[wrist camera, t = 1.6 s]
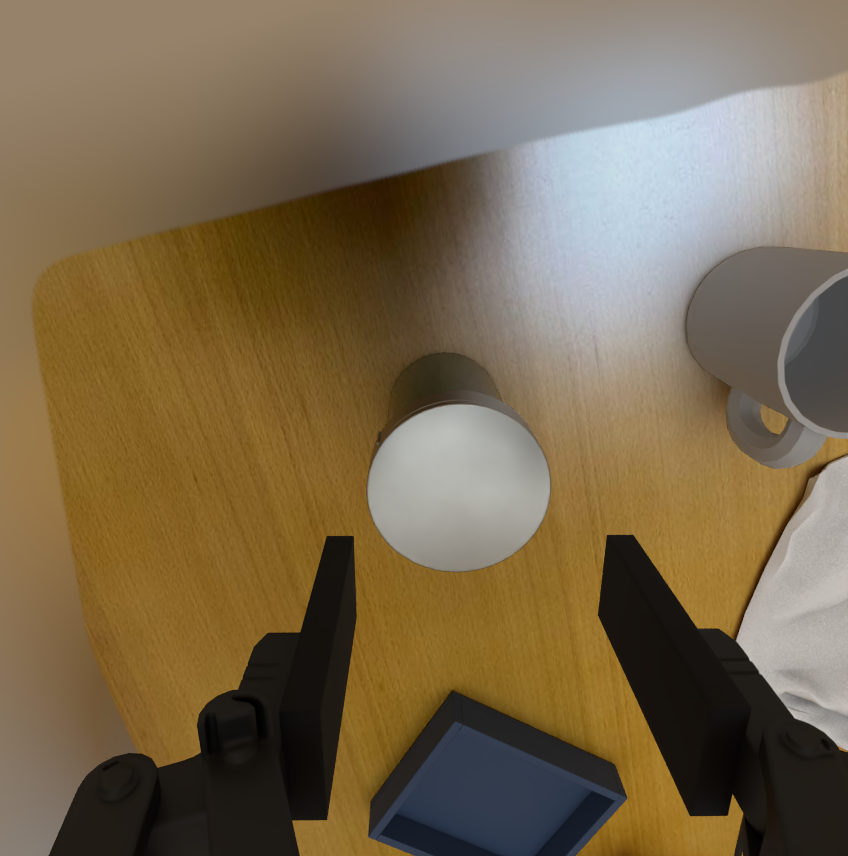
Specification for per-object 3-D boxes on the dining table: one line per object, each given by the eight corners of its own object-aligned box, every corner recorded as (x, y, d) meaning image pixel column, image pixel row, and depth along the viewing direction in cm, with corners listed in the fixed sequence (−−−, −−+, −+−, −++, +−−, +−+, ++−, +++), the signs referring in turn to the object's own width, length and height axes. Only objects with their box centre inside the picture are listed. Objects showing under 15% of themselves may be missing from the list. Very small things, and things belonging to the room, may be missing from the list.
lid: (337, 500, 25) (331, 522, 23) (422, 356, 23) (424, 367, 22) (483, 574, 27) (488, 600, 25) (575, 442, 25) (587, 460, 23)
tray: (370, 801, 43) (367, 837, 41) (452, 690, 40) (455, 721, 38) (526, 865, 46) (533, 902, 43) (615, 764, 42) (628, 798, 40)
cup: (840, 258, 31) (998, 274, 23) (772, 438, 35) (889, 510, 26) (706, 233, 31) (817, 241, 23) (650, 419, 34) (728, 487, 26)
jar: (369, 425, 34) (352, 511, 24) (424, 331, 32) (430, 383, 22) (462, 474, 35) (482, 577, 25) (519, 386, 33) (565, 459, 23)
